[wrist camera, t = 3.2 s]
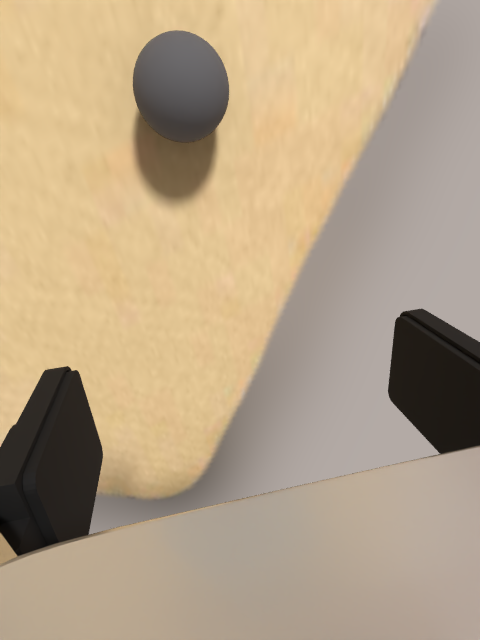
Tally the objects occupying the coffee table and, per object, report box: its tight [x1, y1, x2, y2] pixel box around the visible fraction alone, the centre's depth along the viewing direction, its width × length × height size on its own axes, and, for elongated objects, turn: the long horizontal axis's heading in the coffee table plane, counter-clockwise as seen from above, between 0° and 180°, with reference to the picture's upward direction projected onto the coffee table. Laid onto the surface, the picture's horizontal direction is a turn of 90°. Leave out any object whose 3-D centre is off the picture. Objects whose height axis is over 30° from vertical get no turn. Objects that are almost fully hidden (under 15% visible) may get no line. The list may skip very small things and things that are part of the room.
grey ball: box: [133, 31, 229, 142], centre depth 20 cm, size 5×5×5 cm
